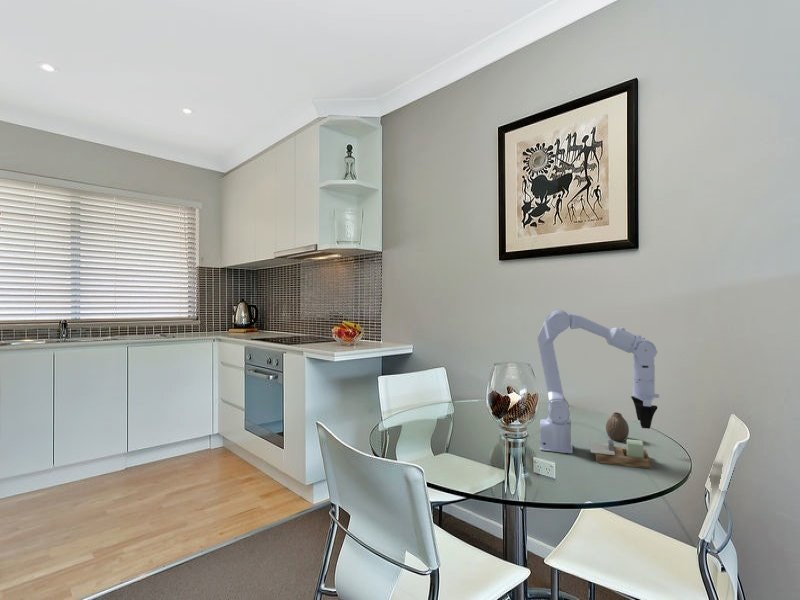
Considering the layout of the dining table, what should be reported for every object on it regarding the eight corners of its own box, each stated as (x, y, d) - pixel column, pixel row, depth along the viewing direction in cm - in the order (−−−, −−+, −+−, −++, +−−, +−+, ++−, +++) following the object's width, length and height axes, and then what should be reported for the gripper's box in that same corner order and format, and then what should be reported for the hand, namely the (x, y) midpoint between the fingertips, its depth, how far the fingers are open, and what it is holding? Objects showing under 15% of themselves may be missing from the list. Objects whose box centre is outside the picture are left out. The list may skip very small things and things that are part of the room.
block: (628, 460, 127) (627, 443, 127) (626, 455, 131) (626, 439, 131) (643, 462, 126) (643, 445, 126) (641, 457, 129) (641, 440, 129)
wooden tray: (596, 462, 128) (596, 454, 128) (594, 451, 136) (594, 444, 136) (650, 468, 123) (650, 460, 123) (645, 456, 131) (645, 449, 131)
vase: (631, 443, 143) (631, 416, 142) (609, 442, 144) (608, 415, 144) (625, 436, 149) (625, 410, 149) (603, 435, 151) (603, 410, 150)
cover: (590, 452, 129) (590, 444, 129) (589, 443, 136) (589, 435, 136) (614, 455, 127) (614, 446, 127) (612, 445, 134) (612, 437, 134)
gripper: (663, 385, 123) (663, 433, 123) (654, 375, 136) (654, 418, 136) (635, 383, 125) (635, 430, 126) (629, 373, 139) (629, 416, 139)
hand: (643, 424), depth 131 cm, fingers open, 7 cm apart
